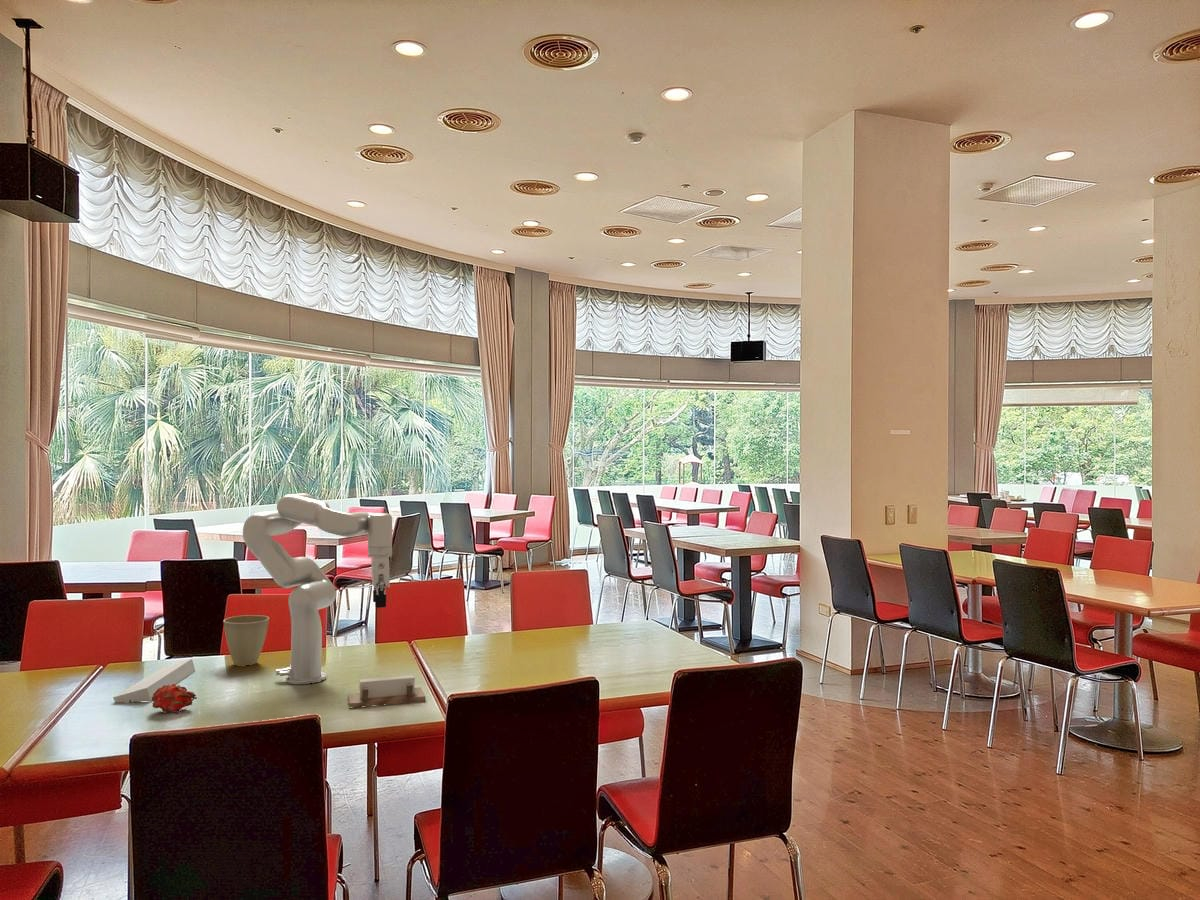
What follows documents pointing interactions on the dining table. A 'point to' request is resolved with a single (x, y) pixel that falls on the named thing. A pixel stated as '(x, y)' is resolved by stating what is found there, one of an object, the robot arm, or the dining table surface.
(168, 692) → the dragon fruit
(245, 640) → the plant pot
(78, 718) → the dining table surface
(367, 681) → the clay strip
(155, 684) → the white wedge ramp
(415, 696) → the plank with four pegs
